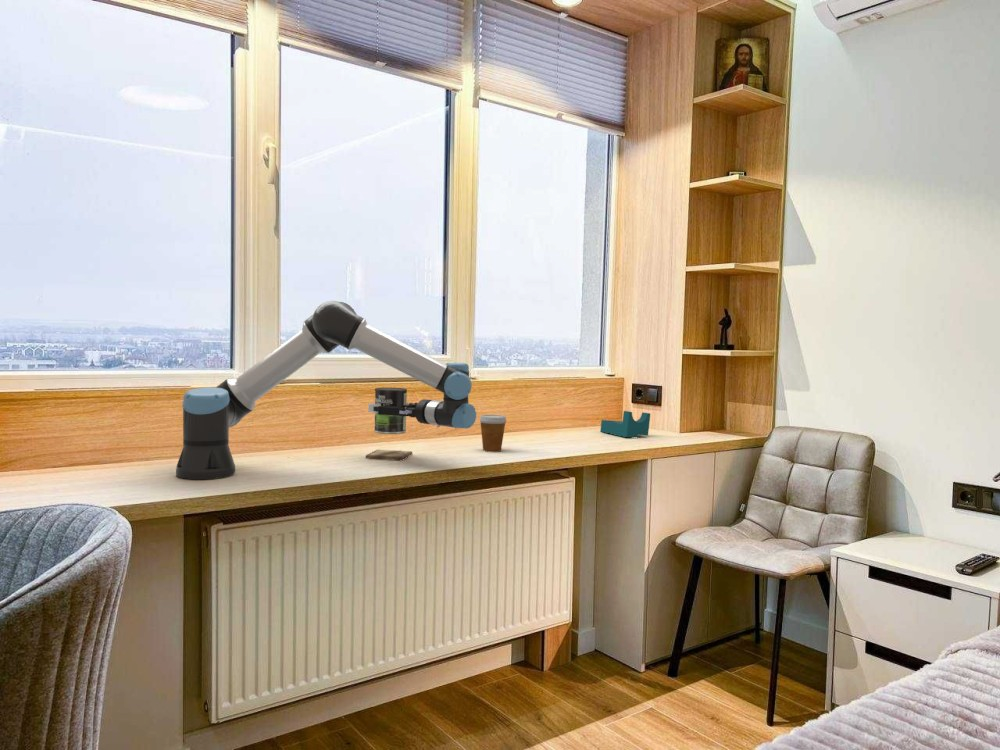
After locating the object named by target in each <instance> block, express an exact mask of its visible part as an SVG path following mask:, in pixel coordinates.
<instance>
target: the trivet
mask: <svg viewBox="0 0 1000 750" xmlns="http://www.w3.org/2000/svg"><path fill="white" fill-rule="evenodd" d="M411 454H412V455H413V451H412V450H411V451H410V450H390V449H376V450H374V451H372V452H370V453H368V454H366V455H365V459H366V458H369V459H368V460H382V459H394V460H393V461H399V460H402V461H403V459H404V460H406V459H407V458H409V457H410V456H409V455H411ZM412 455H411V456H412ZM408 456H409V457H408ZM406 457H407V458H406ZM405 458H406V459H405Z"/></svg>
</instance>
